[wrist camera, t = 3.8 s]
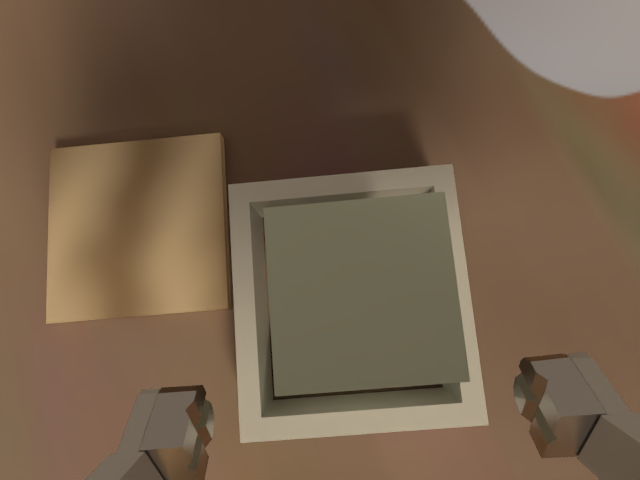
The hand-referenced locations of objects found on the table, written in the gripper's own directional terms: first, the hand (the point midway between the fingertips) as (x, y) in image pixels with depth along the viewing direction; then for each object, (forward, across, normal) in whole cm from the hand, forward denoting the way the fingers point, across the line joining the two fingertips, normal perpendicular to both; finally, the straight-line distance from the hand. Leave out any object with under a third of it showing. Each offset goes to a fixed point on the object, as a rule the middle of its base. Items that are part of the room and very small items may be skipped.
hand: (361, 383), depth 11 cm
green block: (+10, 0, +7) cm, 12 cm away
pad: (+14, +11, +3) cm, 18 cm away
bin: (+10, 0, +7) cm, 12 cm away
